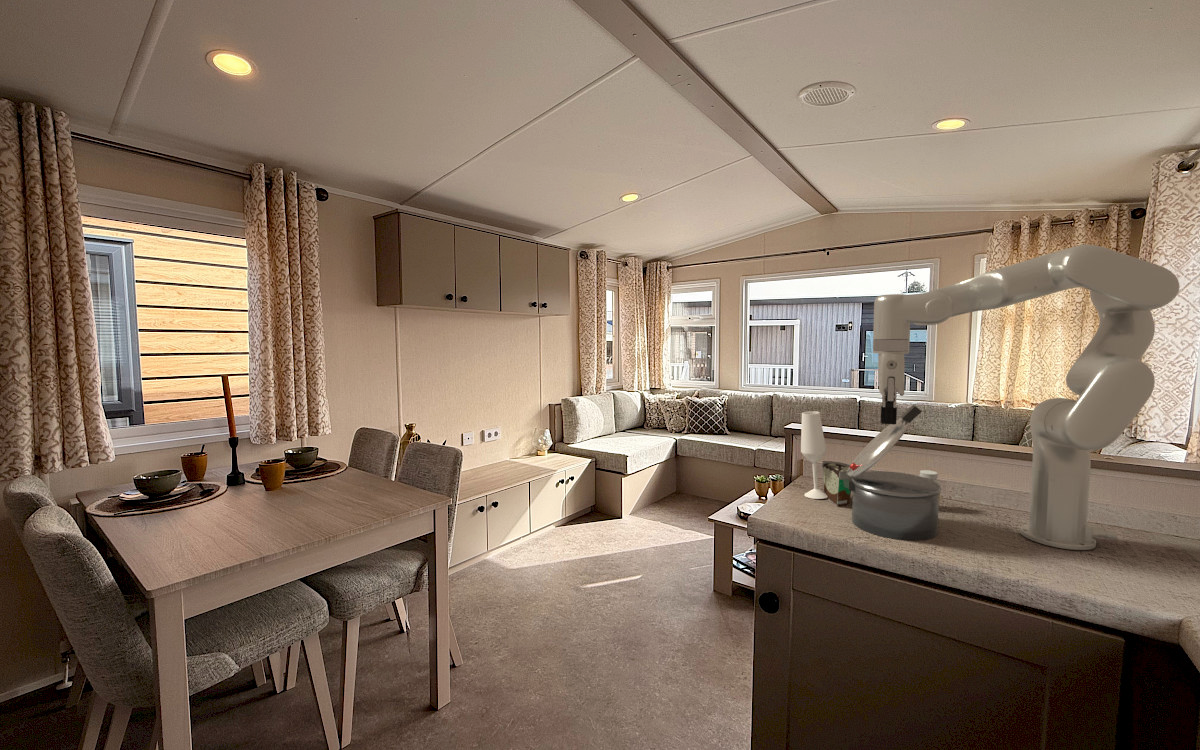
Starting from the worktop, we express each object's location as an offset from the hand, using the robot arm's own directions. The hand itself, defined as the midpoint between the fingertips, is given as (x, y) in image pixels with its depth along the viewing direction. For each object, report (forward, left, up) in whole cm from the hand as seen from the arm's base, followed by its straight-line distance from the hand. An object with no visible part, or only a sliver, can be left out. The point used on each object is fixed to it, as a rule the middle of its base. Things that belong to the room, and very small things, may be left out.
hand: (888, 423), depth 122 cm
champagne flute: (+16, -17, -25) cm, 34 cm away
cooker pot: (-2, 0, -25) cm, 25 cm away
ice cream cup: (+10, -15, -25) cm, 31 cm away
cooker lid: (+1, 0, -5) cm, 5 cm away
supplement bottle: (-11, -18, -25) cm, 33 cm away
